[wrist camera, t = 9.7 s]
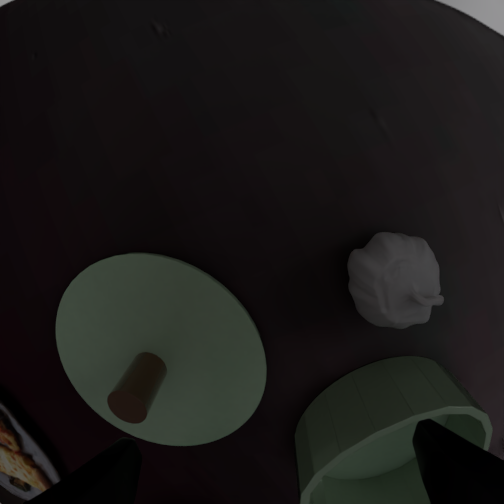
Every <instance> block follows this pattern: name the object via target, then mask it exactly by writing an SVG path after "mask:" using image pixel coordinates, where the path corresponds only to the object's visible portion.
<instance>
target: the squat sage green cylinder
mask: <svg viewBox="0 0 504 504" xmlns="http://www.w3.org/2000/svg"><path fill="white" fill-rule="evenodd" d="M428 418H430V419H432V420H434V421H436V422H437V423H439V424H441V425H442V426H444V427H446V428H447V429H449V430H451V431H452V432H454V433H456V434H458V435H459V436H461V437H463V438H464V439H466V440H468V441H470V442H471V443H473V444H475V445H477V446H479V447H480V448H482V449H484V450H486V451H487V450H488V448H489V445H490V440H491V435H492V425H491V423H490V420H489V417H488V415H487V413H486V412H485V411H484V410H483V409H482V408H481V406H480V405H479V404H478V403H477V402H476V400H475V399H474V398H473V397H472V396H471V395H470V394H469V392H468V391H467V390H466V389H465V388H464V387H463V386H462V384H461V383H460V382H459V381H458V380H457V379H456V378H455V377H454V375H453V374H452V373H451V372H450V371H449V370H447V369H446V368H445V367H443V366H442V365H441V364H439V363H438V362H436V361H434V360H431V359H428V358H425V357H418V356H400V357H393V358H388V359H383V360H380V361H377V362H374V363H370V364H368V365H366V366H363V367H361V368H358V369H356V370H354V371H352V372H351V373H349V374H347V375H345V376H343V377H342V378H340V379H339V380H337V381H336V382H334V383H333V384H331V385H330V386H329V387H328V388H326V389H325V390H324V391H323V392H322V393H321V394H319V395H318V396H317V397H316V398H315V399H314V400H313V402H312V403H311V404H310V405H309V406H308V407H307V409H306V410H305V412H304V413H303V415H302V416H301V418H300V420H299V422H298V424H297V428H296V431H295V435H294V457H295V467H296V477H297V488H298V498H299V504H431V503H430V500H429V497H428V495H427V492H426V489H425V487H424V484H423V481H422V478H421V475H420V471H419V467H418V463H417V459H416V455H415V451H414V447H413V443H412V439H413V435H414V432H415V428H416V425H417V423H418V422H419V421H420V420H424V419H428Z"/></svg>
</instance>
